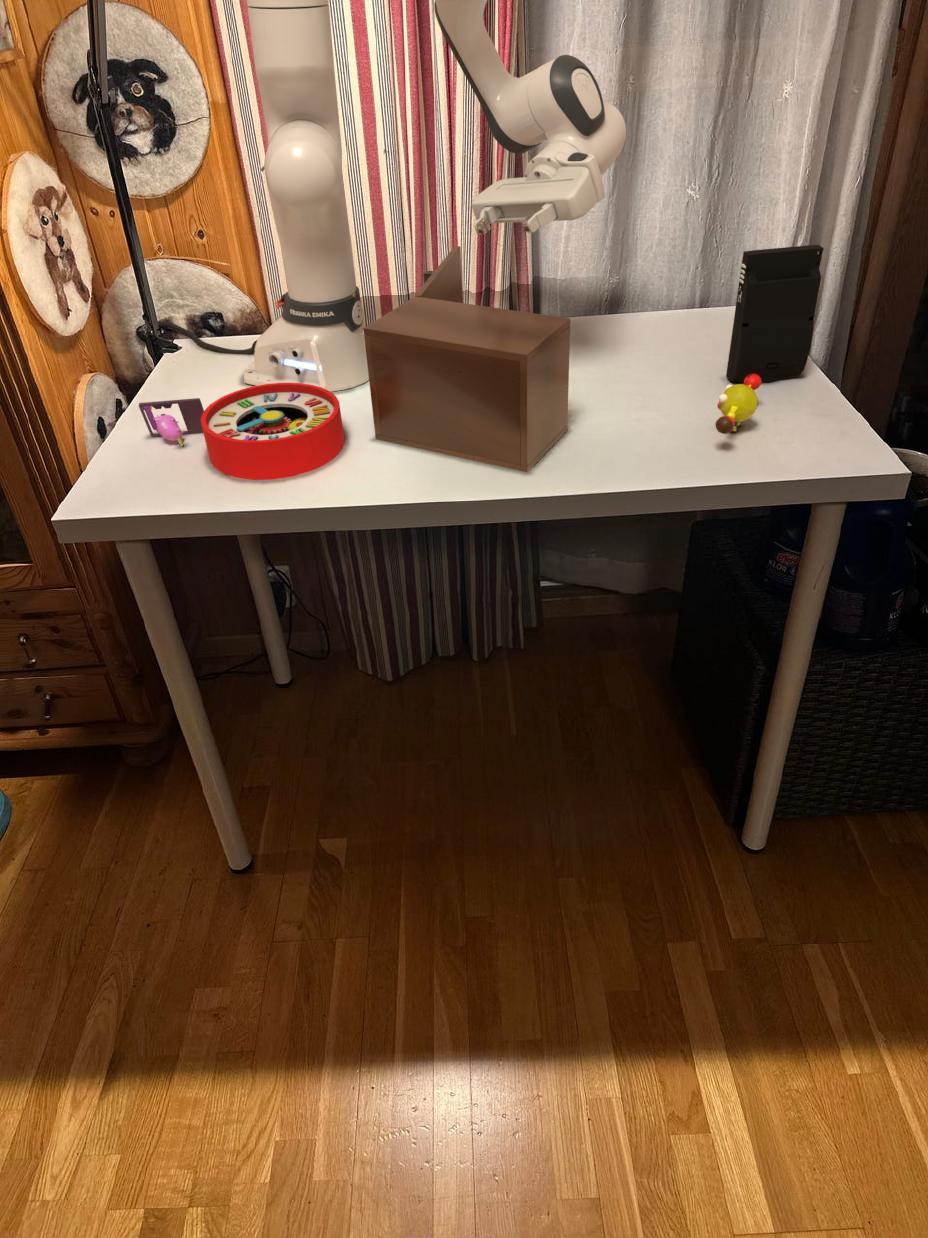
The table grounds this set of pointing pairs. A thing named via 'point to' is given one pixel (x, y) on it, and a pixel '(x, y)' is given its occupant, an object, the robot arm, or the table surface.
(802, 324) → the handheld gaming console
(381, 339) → the cabinet
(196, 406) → the pink toy with backboard
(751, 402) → the toy figure
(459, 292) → the cabinet door
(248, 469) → the toy clock
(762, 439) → the table surface
